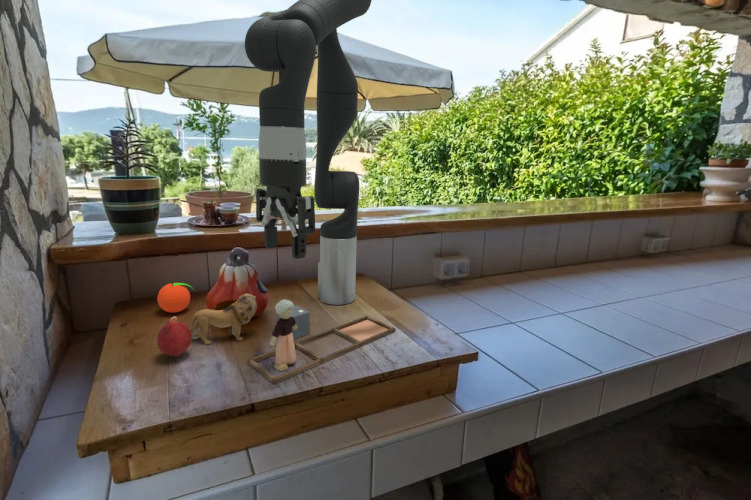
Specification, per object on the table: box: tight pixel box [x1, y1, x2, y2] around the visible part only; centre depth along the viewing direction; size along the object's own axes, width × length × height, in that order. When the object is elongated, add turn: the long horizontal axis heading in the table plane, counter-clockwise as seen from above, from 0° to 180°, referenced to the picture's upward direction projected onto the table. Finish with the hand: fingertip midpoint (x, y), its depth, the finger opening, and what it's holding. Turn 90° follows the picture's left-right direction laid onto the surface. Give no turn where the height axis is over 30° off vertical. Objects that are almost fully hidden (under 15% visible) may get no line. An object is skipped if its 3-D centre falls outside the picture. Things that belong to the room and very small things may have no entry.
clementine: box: [156, 282, 195, 314], centre depth 96 cm, size 8×7×7 cm
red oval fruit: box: [156, 315, 193, 358], centre depth 76 cm, size 6×6×8 cm
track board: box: [247, 315, 396, 385], centre depth 83 cm, size 9×31×1 cm, turn 135°
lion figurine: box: [189, 293, 258, 346], centre depth 83 cm, size 15×5×9 cm, turn 118°
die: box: [275, 304, 311, 340], centre depth 88 cm, size 5×5×5 cm
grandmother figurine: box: [269, 299, 297, 372], centre depth 75 cm, size 8×4×13 cm, turn 168°
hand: (284, 252), depth 71 cm, fingers open, 8 cm apart
